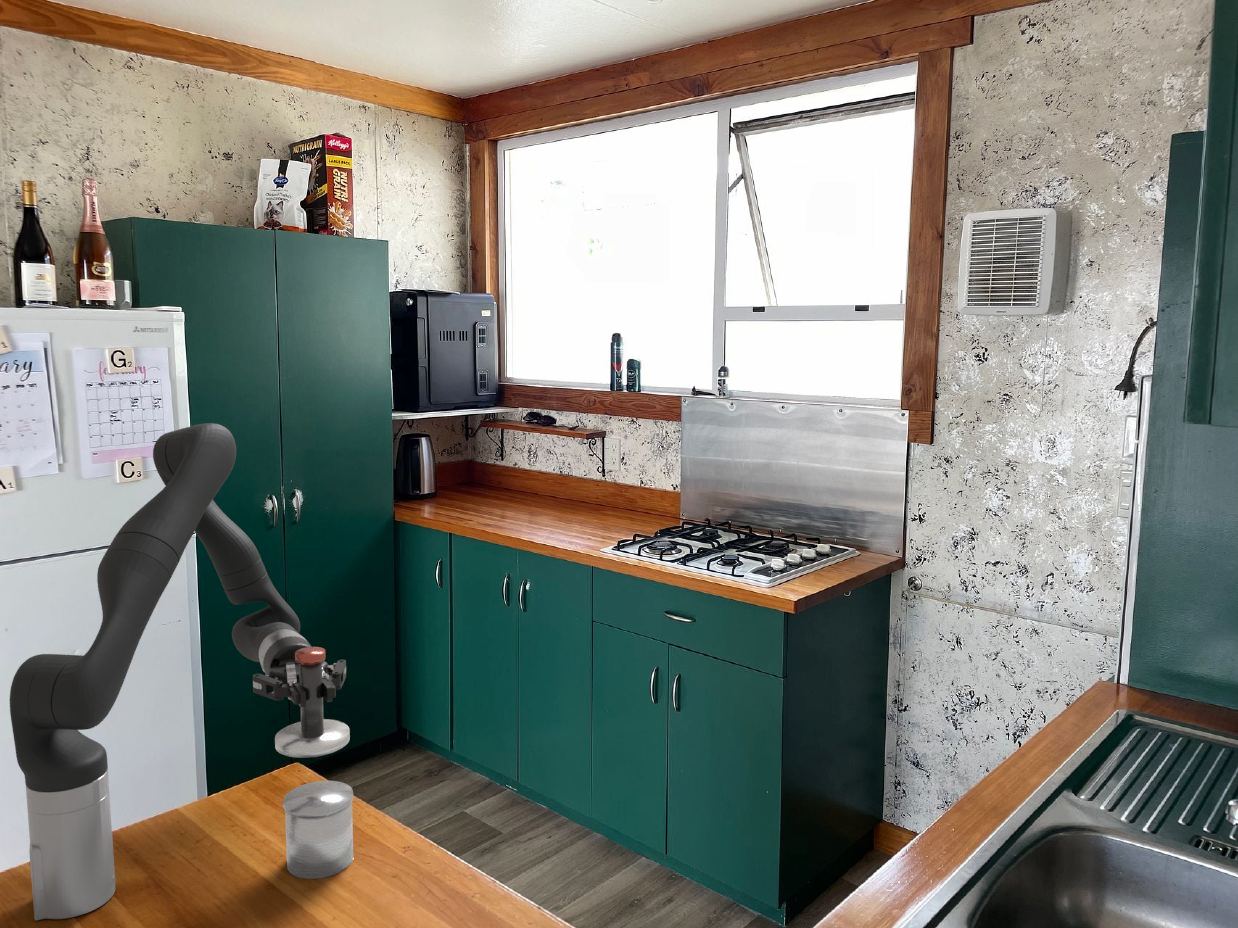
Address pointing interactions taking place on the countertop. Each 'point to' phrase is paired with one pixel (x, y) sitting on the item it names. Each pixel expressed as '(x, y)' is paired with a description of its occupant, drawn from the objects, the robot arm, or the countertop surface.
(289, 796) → the pot
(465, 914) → the countertop surface
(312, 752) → the lid
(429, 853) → the countertop surface
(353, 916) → the countertop surface
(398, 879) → the countertop surface
